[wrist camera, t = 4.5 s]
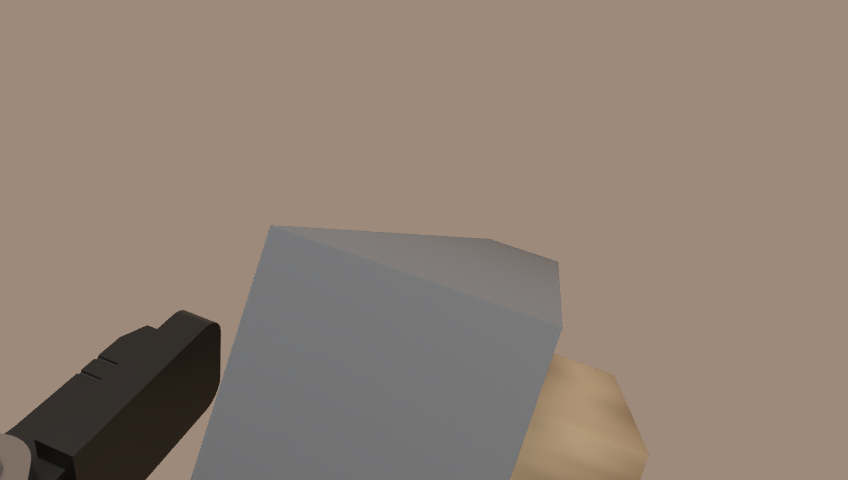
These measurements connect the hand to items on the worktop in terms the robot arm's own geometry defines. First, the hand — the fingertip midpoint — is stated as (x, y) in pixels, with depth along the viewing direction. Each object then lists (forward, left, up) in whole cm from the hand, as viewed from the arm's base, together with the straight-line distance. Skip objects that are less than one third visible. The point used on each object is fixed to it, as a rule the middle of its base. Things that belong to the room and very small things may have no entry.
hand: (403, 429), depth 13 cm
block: (0, +11, -1) cm, 11 cm away
